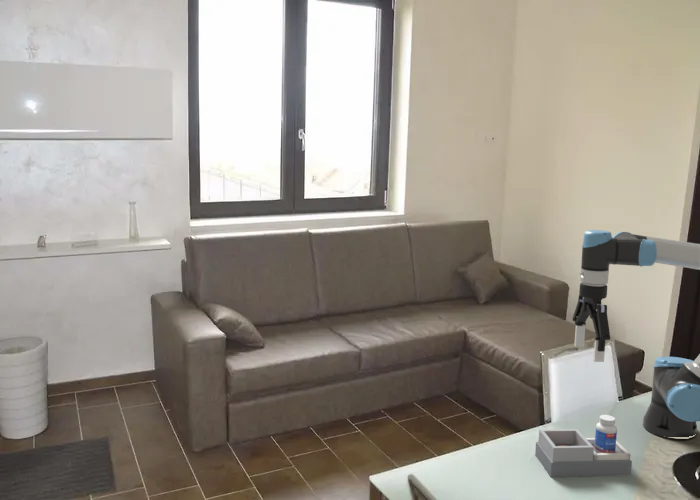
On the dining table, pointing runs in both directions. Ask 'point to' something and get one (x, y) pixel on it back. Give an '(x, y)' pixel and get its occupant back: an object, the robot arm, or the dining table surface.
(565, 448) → the grey compartment organizer
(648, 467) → the dining table surface
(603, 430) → the pill bottle
